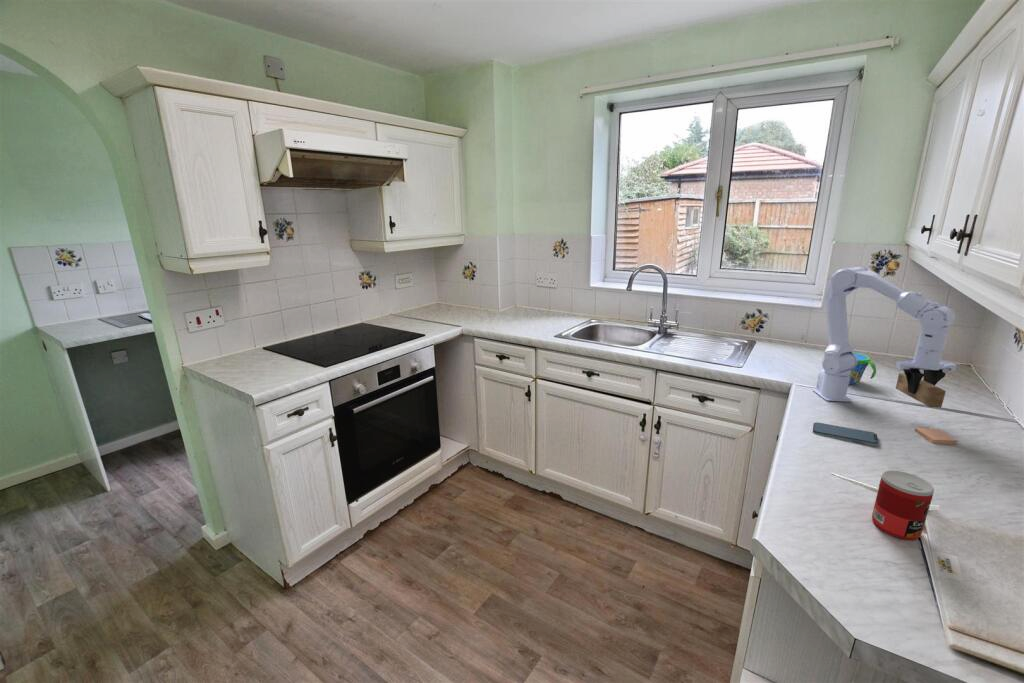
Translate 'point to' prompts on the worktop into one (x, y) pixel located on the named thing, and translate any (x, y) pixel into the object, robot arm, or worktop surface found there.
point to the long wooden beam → (922, 392)
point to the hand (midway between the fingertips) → (918, 392)
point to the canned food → (902, 504)
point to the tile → (935, 436)
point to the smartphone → (846, 434)
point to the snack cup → (861, 368)
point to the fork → (931, 508)
